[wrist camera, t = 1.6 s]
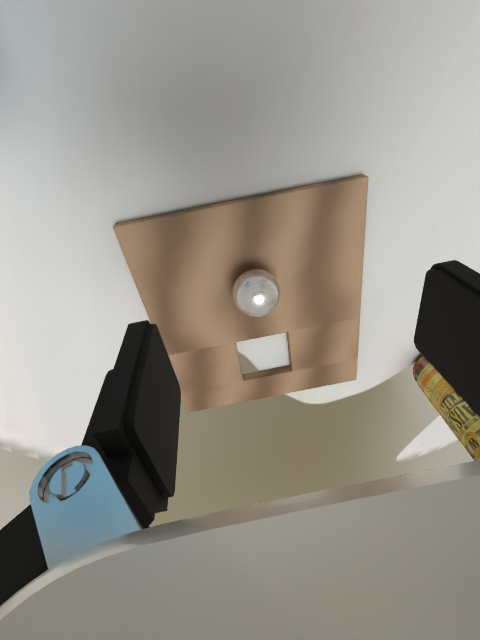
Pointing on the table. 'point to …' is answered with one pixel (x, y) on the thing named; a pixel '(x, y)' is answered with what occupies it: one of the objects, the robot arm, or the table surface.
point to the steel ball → (256, 292)
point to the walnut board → (245, 254)
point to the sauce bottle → (449, 406)
